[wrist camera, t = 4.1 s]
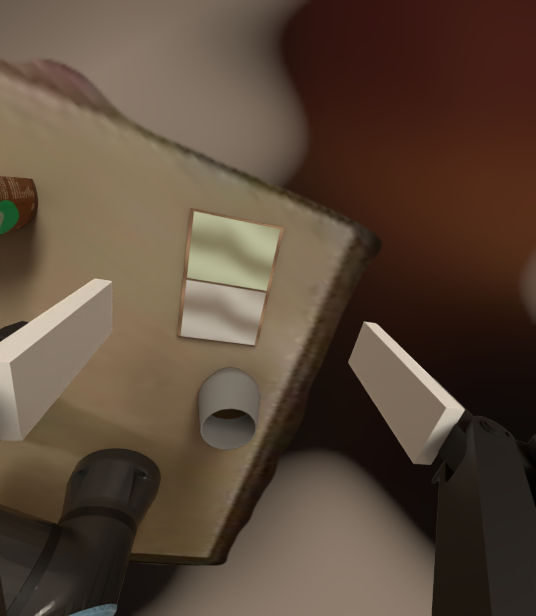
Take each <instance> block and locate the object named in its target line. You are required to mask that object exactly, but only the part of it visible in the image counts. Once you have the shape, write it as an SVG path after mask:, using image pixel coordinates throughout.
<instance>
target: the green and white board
mask: <svg viewBox="0 0 536 616" xmlns="http://www.w3.org/2000/svg"><path fill="white" fill-rule="evenodd" d="M283 230H284V228H283V227H278V226H273V225H268V224H264V223H259V222H254V221H249V220H245V219H240V218H235V217H230V216H226V215H221V214H216V213H211V212H207V211H202V210H197V209H192V208H191V209H190V217H189V227H188V237H187V246H186V256H185V266H184V275H183V285H182V295H181V305H180V314H179V324H178V334H177V336H184V337H192V338H200V339H208V340H216V341H224V342H232V343H240V344H247V345H255V346H257V344H258V340H259V335H260V331H261V327H262V322H263V318H264V314H265V309H266V305H267V300H268V296H269V292H270V287H271V283H272V278H273V274H274V270H275V265H276V261H277V256H278V252H279V248H280V243H281V239H282V234H283Z"/></svg>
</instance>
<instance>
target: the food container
mask: <svg viewBox="0 0 536 616" xmlns="http://www.w3.org/2000/svg"><path fill="white" fill-rule="evenodd" d="M37 204H38V197H37V191H36V187H35V184H34V182H33V179H28V178H16V177H3V176H0V235H1V234H4V233H7V232H10V231H13V230H17V229H20V228H22V227H24V226H26V225H27V224H28V223H29V222H30V221H31V220H32V219H33V217H34V215H35V213H36V210H37Z"/></svg>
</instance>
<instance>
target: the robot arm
mask: <svg viewBox="0 0 536 616" xmlns="http://www.w3.org/2000/svg"><path fill="white" fill-rule="evenodd" d="M111 333H112V281H107V280H101V279H93V280H92V281H90V282H89V283H88V284H86V285H85V286H83V287H82V288H80V289H79V290H77V291H76V292H74V293H73V294H71V295H70V296H68V297H67V298H65V299H64V300H62V301H61V302H59V303H58V304H56V305H55V306H53V307H52V308H50V309H49V310H47V311H46V312H44V313H43V314H41V315H40V316H38V317H37V318H35V319H34V320H32V321H31V322H24V321H21V322H18V323H15V324H12V325H9V326H6V327H4V328H2V329H0V440H11V441H22V440H23V439H24V438H25V437H26V435H27V434H28V433H29V432H30V431H31V429H32V428H33V427H34V426H35V425H36V423H37V422H38V421H39V420H40V419H41V417H42V416H43V415H44V414H45V413H46V411H47V410H48V409H49V408H50V406H51V405H52V404H53V403H54V402H55V400H56V399H57V398H58V397H59V396H60V394H61V393H62V392H63V391H64V390H65V388H66V387H67V386H68V385H69V384H70V382H71V381H72V380H73V379H74V378H75V376H76V375H77V374H78V373H79V371H80V370H81V369H82V368H83V367H84V365H85V364H86V363H87V362H88V361H89V359H90V358H91V357H92V356H93V355H94V353H95V352H96V351H97V350H98V349H99V347H100V346H101V345H102V344H103V343H104V341H105V340H106V339H107V338H108V337H109V335H110V334H111ZM348 363H349V364H350V366H351V367H352V369H353V371H354V372H355V374H356V375H357V377H358V378H359V380H360V381H361V383H362V385H363V386H364V388H365V389H366V391H367V392H368V394H369V395H370V397H371V398H372V400H373V402H374V403H375V405H376V406H377V408H378V409H379V411H380V412H381V414H382V415H383V417H384V418H385V420H386V422H387V423H388V425H389V426H390V428H391V429H392V431H393V433H394V434H395V436H396V437H397V439H398V440H399V442H400V443H401V445H402V446H403V448H404V449H405V451H406V453H407V454H408V456H409V457H410V459H411V460H412V462H413V463H414V464H429V465H431V464H432V462H433V460H434V459H435V457H436V455H437V454H438V453H439V454H440V455H441V457H442V458H443V459H444V463H443V464H442V466H441V467H440V469H439V470H438V472H437V474H436V475H435V477H434V478H433V480H432V482H431V483H433V484H435V483H436V481H439V497H438V514H437V531H436V549H435V566H434V584H433V601H432V616H536V435H534V436H533V438H532V439H531V440H530V441H529V443H528V444H526V443H523V442H520V441H517V440H515V439H514V438H513V436H512V435H511V434H510V433H509V432H508V431H507V430H506V429H505V428H503V427H502V426H500V425H499V424H497V423H495V422H493V421H492V420H490V419H487V418H485V417H481V416H473V415H472V414H471V413H470V412H469V411H468V410H467V409H465V407H463V406H462V405H461V404H460V403H459V402H458V401H457V400H456V399H455V398H454V397H453V396H452V395H450V393H449V392H448V391H447V390H446V389H444V387H443V386H442V385H441V384H440V383H439V382H438V381H437V380H435V379H434V378H432V377H431V376H430V375H429V374H427V372H426V371H425V370H424V369H423V368H422V367H421V366H420V365H419V364H417V363H416V362H415V361H414V360H413V359H412V358H411V357H410V356H409V355H408V354H407V353H406V352H405V351H404V350H403V349H402V348H401V347H400V346H399V345H398V344H397V343H396V342H395V341H394V340H393V339H391V337H389V335H388V334H386V333H385V332H384V331H383V330H382V329H381V328H380V327H379V326H378V325H377V324H375V323H368V322H364V324H363V326H362V329H361V331H360V334H359V336H358V339H357V342H356V344H355V347H354V350H353V352H352V355H351V357H350V360H349V362H348ZM160 480H161V477H160V472H159V469H158V467H157V466H156V465H155V464H154V462H152V461H151V460H150V459H149V458H147V457H146V456H144V455H142V454H139V453H137V452H134V451H130V450H124V449H106V450H101V451H97V452H94V453H91V454H89V455H87V456H86V457H84V458H83V459H82V460H80V461H79V463H78V464H77V465H76V467H75V469H74V471H73V472H72V474H71V476H70V478H69V481H68V484H67V489H66V494H65V500H64V505H63V510H62V515H61V518H60V520H59V522H58V524H54V523H51V522H49V521H46V520H43V519H40V518H37V517H35V516H32V515H29V514H26V513H23V512H21V511H18V510H15V509H12V508H9V507H7V506H4V505H1V504H0V616H113V615H114V614H115V612H116V609H117V601H118V598H119V593H120V590H121V586H122V583H123V579H124V576H125V572H126V568H127V564H128V561H129V557H130V553H131V550H132V546H133V542H134V539H135V535H136V531H137V528H138V526H139V524H140V523H141V521H142V519H143V518H144V516H145V514H146V513H147V511H148V509H149V507H150V506H151V504H152V502H153V501H154V499H155V497H156V495H157V492H158V488H159V484H160Z"/></svg>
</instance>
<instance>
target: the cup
mask: <svg viewBox="0 0 536 616" xmlns="http://www.w3.org/2000/svg"><path fill="white" fill-rule="evenodd" d="M259 405H260V393H259V389H258V386H257V384H256V383H255V382H254V380H253V379H252V378H251V377H250V376H249V375H247V374H246V373H245V372H243V371H241V370H240V369H237V368H224V369H221V370H218V371H217V372H216V373H215V374H213V375H212V376H211V377H210V378H208V379H207V380H206V381H205V382H204V384H203V385H202V387H201V389H200V391H199V396H198V410H199V423H200V433H201V436H202V438H203V440H204V441H205V442H206V443H207V444H208V445H210V446H212V447H214V448H217V449H223V450H230V449H237V448H239V447H242V446H245V445H246V444H247V443H249V442H250V441H251V440H252V439H253V437H254V436H255V434H256V430H257V424H258V415H259Z"/></svg>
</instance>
